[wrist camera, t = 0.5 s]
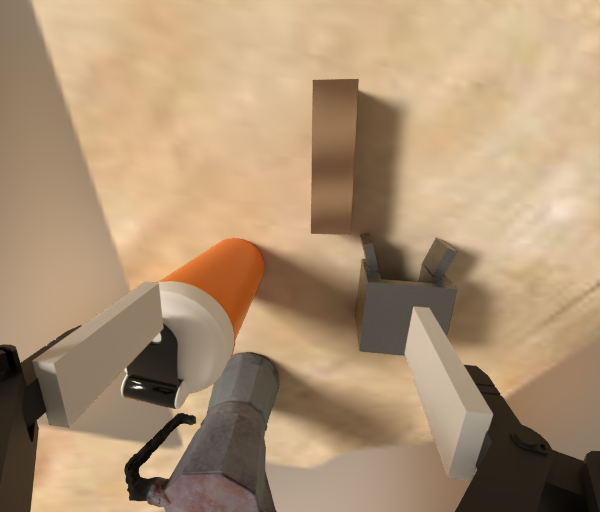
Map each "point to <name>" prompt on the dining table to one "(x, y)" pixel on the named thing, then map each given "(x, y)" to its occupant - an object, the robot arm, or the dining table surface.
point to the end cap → (401, 299)
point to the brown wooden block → (333, 154)
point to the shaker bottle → (196, 324)
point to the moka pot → (218, 447)
